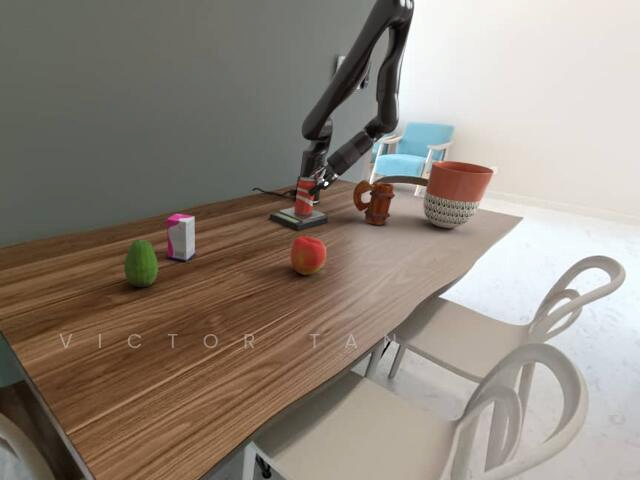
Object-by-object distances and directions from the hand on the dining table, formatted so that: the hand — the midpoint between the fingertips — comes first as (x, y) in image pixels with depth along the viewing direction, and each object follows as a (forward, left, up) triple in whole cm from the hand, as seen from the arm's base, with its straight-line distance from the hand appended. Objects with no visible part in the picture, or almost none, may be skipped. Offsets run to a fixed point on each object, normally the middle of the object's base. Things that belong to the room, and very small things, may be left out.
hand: (306, 191), depth 139 cm
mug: (+15, +20, -11) cm, 27 cm away
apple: (+30, -32, -11) cm, 45 cm away
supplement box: (+3, -54, -11) cm, 55 cm away
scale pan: (0, 0, -9) cm, 9 cm away
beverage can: (0, 0, -8) cm, 8 cm away
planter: (+33, +42, -11) cm, 54 cm away
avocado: (+12, -71, -11) cm, 73 cm away
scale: (0, -2, -11) cm, 11 cm away
